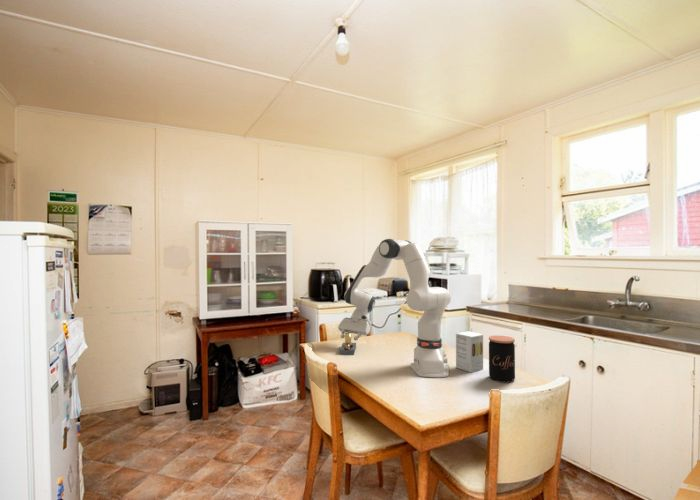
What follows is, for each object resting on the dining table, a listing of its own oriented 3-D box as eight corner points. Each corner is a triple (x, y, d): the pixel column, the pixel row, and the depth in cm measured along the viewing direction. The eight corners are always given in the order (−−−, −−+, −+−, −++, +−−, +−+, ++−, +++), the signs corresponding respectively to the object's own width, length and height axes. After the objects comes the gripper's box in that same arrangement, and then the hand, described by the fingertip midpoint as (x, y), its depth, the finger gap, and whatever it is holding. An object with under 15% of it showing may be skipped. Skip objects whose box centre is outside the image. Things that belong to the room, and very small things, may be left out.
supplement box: (471, 373, 164) (470, 336, 164) (455, 367, 172) (455, 333, 172) (484, 369, 169) (483, 334, 169) (468, 364, 177) (467, 330, 177)
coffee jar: (490, 381, 153) (489, 340, 153) (488, 373, 163) (487, 334, 163) (517, 384, 150) (516, 342, 150) (513, 375, 160) (512, 336, 160)
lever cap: (351, 351, 201) (350, 333, 201) (344, 351, 201) (344, 333, 201) (351, 349, 204) (351, 332, 204) (345, 349, 205) (345, 332, 205)
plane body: (353, 354, 194) (353, 345, 194) (339, 354, 195) (339, 345, 195) (356, 347, 210) (356, 338, 210) (343, 346, 211) (342, 338, 211)
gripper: (342, 314, 215) (332, 333, 207) (370, 317, 203) (360, 338, 195) (346, 320, 219) (336, 339, 211) (374, 324, 207) (365, 344, 199)
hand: (348, 338), depth 203 cm, fingers open, 8 cm apart
